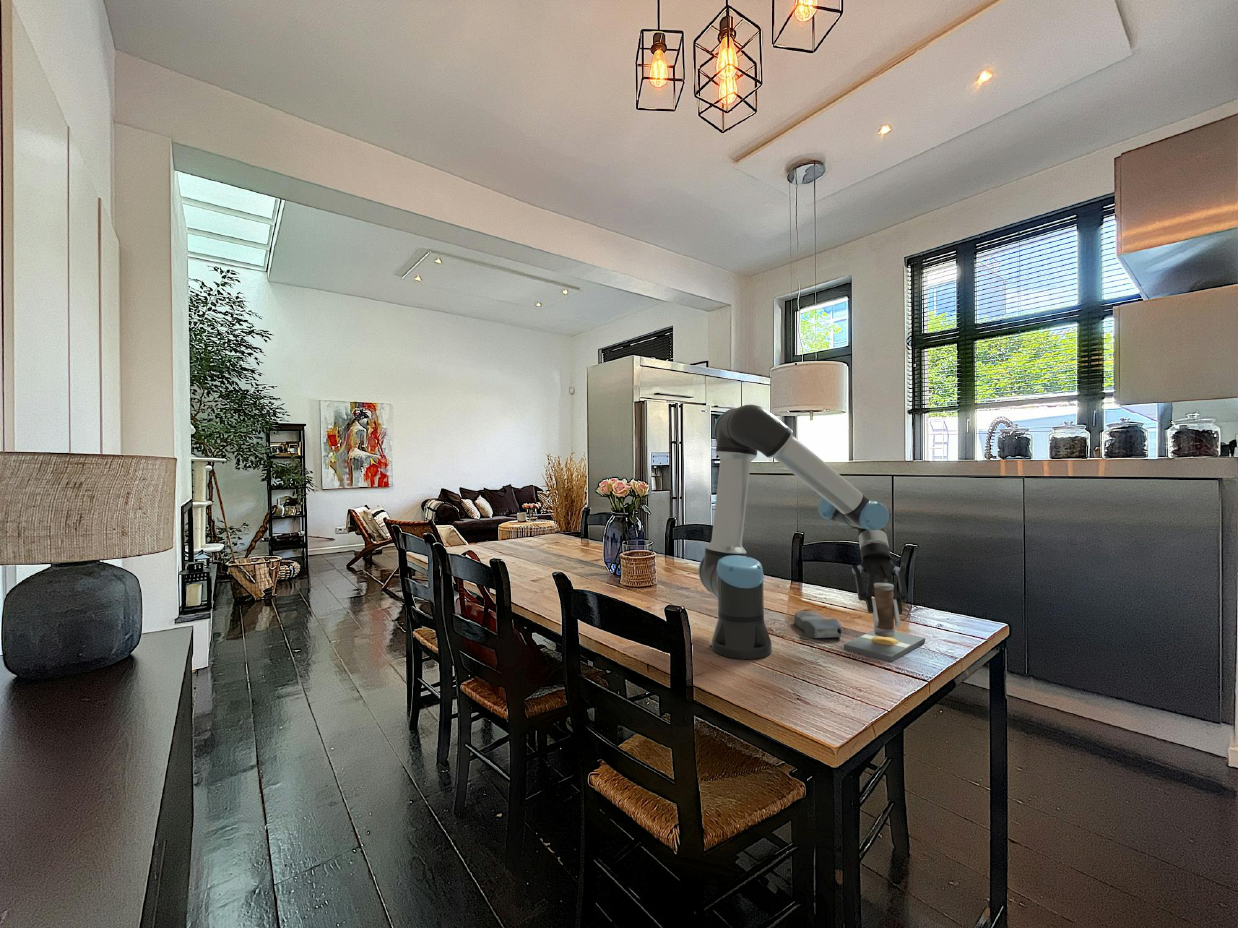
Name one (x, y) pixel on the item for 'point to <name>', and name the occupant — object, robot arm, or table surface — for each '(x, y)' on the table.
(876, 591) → the tall brown post
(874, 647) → the board
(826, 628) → the handheld device
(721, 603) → the robot arm
